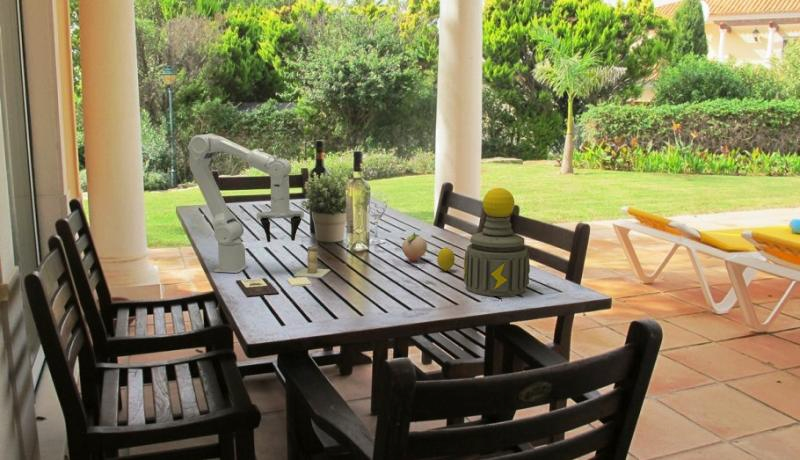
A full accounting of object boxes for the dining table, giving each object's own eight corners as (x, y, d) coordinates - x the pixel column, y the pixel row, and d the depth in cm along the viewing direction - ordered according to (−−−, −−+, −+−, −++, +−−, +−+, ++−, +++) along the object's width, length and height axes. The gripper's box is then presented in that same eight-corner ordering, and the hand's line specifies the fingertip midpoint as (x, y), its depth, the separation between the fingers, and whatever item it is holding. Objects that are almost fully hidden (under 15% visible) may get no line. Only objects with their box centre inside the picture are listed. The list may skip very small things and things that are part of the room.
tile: (286, 278, 224) (291, 284, 217) (306, 277, 226) (311, 283, 219) (286, 282, 225) (291, 288, 217) (306, 280, 227) (311, 287, 219)
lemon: (445, 268, 242) (445, 244, 240) (457, 271, 238) (458, 247, 236) (433, 271, 238) (433, 246, 236) (446, 274, 234) (446, 249, 233)
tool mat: (303, 269, 239) (303, 268, 239) (330, 270, 237) (330, 269, 237) (293, 276, 229) (293, 275, 229) (321, 278, 228) (321, 276, 228)
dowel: (309, 270, 235) (309, 246, 233) (318, 271, 234) (318, 246, 233) (306, 273, 232) (306, 248, 230) (315, 273, 231) (315, 248, 230)
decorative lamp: (462, 280, 226) (464, 183, 221) (523, 281, 226) (527, 184, 220) (465, 297, 208) (468, 191, 202) (532, 298, 207) (537, 192, 202)
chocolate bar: (247, 295, 205) (235, 280, 222) (247, 298, 206) (235, 283, 222) (279, 292, 209) (265, 278, 225) (279, 296, 209) (265, 281, 225)
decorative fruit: (424, 265, 246) (424, 235, 244) (400, 263, 248) (400, 234, 246) (428, 259, 255) (429, 230, 253) (405, 257, 257) (405, 229, 255)
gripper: (258, 200, 223) (259, 244, 226) (305, 199, 228) (306, 242, 231) (255, 197, 230) (256, 240, 232) (300, 196, 235) (301, 237, 237)
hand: (280, 240), depth 232 cm, fingers open, 7 cm apart
